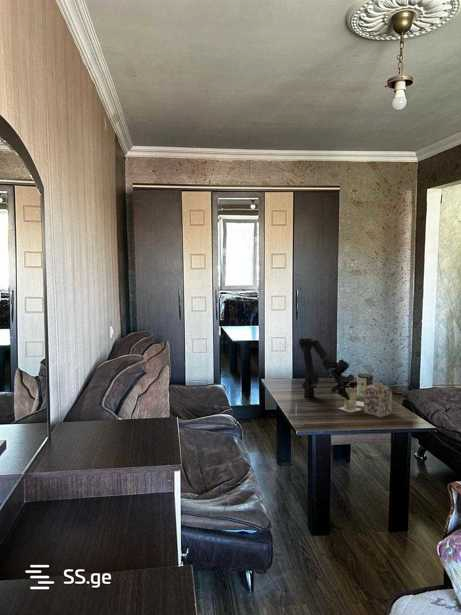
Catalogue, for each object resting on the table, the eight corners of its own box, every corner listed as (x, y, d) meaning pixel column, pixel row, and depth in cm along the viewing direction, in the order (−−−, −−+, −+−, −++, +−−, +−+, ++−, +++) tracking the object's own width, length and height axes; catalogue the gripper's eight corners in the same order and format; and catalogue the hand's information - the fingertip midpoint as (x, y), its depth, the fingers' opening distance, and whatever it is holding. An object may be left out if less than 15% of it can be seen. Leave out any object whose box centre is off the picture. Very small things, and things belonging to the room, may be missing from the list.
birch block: (344, 408, 274) (344, 389, 273) (349, 407, 277) (350, 387, 276) (350, 410, 270) (351, 390, 269) (356, 409, 273) (356, 389, 272)
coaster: (351, 405, 282) (351, 404, 282) (356, 401, 290) (356, 401, 290) (366, 407, 277) (366, 406, 277) (370, 403, 285) (370, 403, 285)
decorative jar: (363, 412, 267) (363, 382, 265) (374, 409, 274) (375, 379, 272) (380, 417, 257) (381, 386, 256) (392, 413, 264) (393, 383, 263)
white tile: (338, 408, 275) (338, 408, 275) (349, 406, 280) (349, 405, 280) (351, 412, 266) (351, 412, 266) (362, 409, 272) (362, 409, 272)
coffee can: (372, 394, 308) (372, 373, 307) (373, 398, 298) (374, 377, 297) (356, 393, 310) (356, 373, 309) (357, 397, 300) (357, 376, 299)
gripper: (335, 372, 270) (349, 394, 261) (355, 368, 280) (370, 389, 272) (325, 382, 277) (338, 404, 268) (345, 378, 287) (359, 399, 279)
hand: (352, 399), depth 272 cm, fingers closed on birch block, 5 cm apart
